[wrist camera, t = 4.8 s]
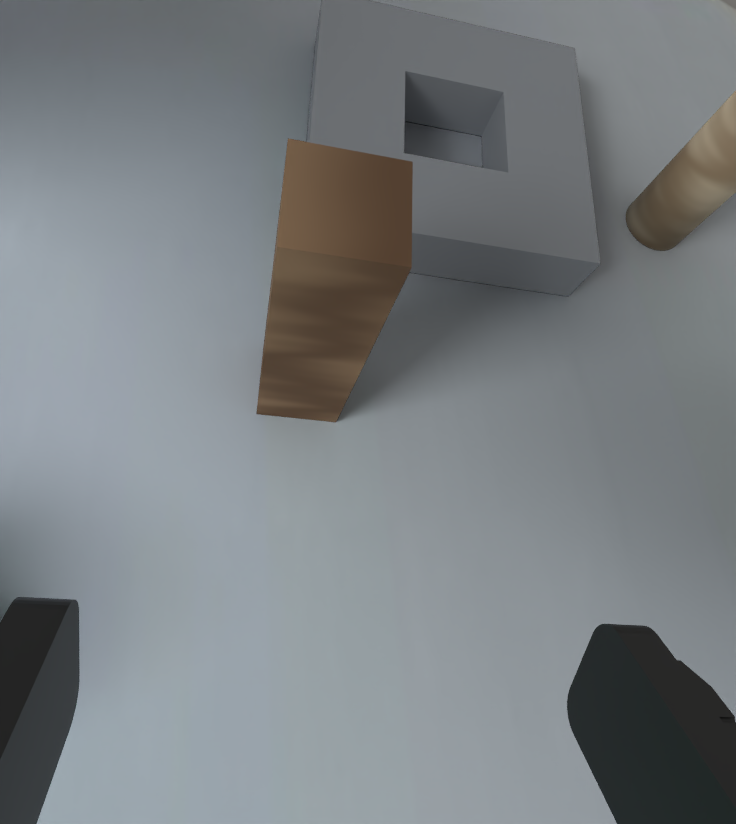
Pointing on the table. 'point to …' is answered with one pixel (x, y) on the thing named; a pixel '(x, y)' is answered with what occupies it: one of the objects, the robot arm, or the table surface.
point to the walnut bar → (332, 275)
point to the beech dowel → (689, 184)
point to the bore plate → (474, 114)
